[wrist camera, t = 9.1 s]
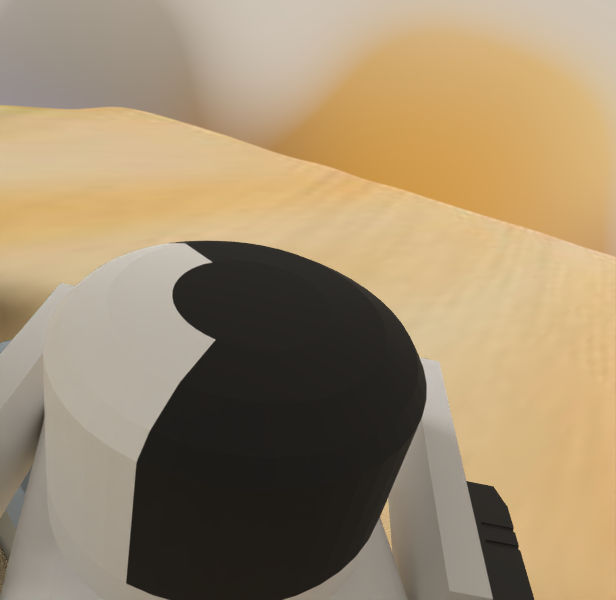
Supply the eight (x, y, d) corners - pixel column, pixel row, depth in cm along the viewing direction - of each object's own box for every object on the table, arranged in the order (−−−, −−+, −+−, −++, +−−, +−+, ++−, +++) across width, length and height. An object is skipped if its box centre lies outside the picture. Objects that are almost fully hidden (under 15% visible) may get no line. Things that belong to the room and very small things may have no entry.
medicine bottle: (289, 553, 19) (394, 223, 13) (340, 836, 13) (574, 482, 7) (54, 564, 17) (46, 182, 11) (-6, 901, 11) (-94, 491, 5)
